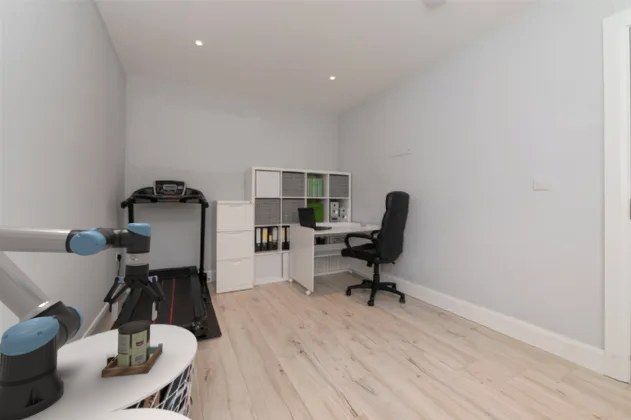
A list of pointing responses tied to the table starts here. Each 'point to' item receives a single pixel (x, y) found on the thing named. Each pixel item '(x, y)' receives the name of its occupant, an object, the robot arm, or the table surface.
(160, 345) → the gate
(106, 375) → the shallow wooden tray
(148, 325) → the coffee can
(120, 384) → the table surface
